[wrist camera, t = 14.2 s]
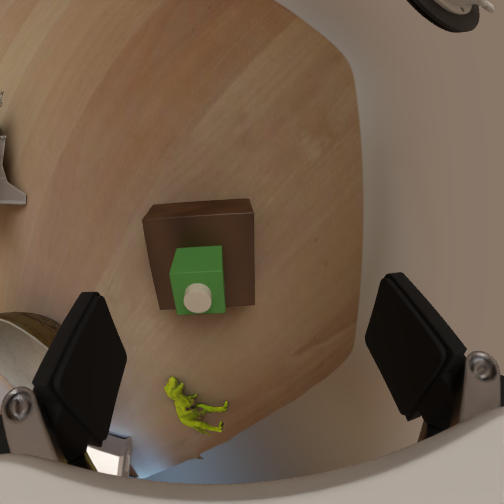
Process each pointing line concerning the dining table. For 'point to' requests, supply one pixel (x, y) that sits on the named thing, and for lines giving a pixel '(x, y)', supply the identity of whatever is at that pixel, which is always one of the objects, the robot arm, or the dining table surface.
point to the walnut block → (203, 244)
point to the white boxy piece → (112, 456)
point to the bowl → (24, 345)
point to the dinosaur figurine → (192, 408)
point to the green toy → (198, 280)
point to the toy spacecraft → (3, 190)
